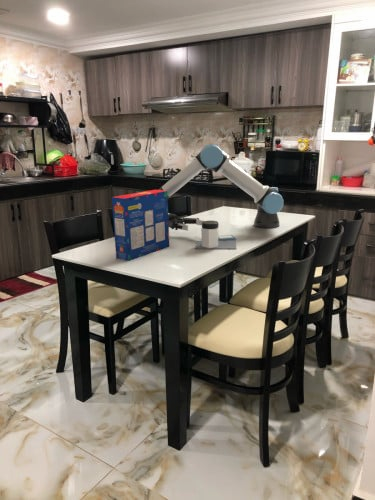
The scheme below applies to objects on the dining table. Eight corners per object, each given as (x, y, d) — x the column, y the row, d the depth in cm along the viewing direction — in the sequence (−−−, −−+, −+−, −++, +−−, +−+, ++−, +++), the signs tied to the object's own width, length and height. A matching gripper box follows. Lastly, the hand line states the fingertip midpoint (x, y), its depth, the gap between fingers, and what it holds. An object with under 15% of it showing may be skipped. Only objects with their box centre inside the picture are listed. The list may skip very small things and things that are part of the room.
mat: (235, 241, 200) (235, 240, 200) (236, 249, 186) (236, 248, 186) (196, 241, 201) (196, 240, 201) (195, 248, 188) (195, 248, 188)
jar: (222, 245, 192) (222, 221, 188) (212, 249, 186) (212, 224, 182) (208, 242, 197) (207, 219, 194) (197, 246, 191) (197, 222, 188)
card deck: (232, 238, 209) (232, 234, 208) (235, 241, 203) (235, 237, 202) (215, 239, 207) (215, 235, 207) (219, 242, 201) (219, 238, 201)
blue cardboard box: (157, 244, 197) (155, 189, 190) (169, 246, 193) (167, 190, 185) (116, 258, 176) (111, 197, 168) (128, 261, 172) (124, 198, 164)
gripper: (185, 223, 225) (212, 228, 210) (152, 230, 208) (179, 237, 193) (184, 210, 222) (212, 215, 208) (151, 217, 205) (179, 222, 191)
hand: (196, 225), depth 201 cm, fingers open, 13 cm apart
